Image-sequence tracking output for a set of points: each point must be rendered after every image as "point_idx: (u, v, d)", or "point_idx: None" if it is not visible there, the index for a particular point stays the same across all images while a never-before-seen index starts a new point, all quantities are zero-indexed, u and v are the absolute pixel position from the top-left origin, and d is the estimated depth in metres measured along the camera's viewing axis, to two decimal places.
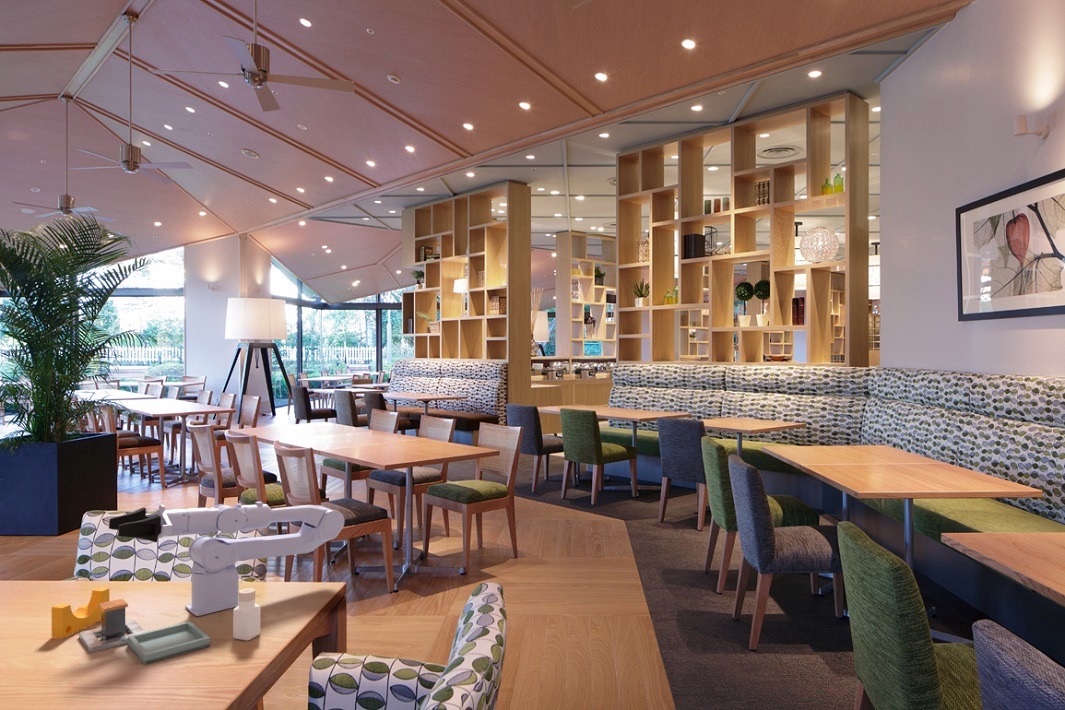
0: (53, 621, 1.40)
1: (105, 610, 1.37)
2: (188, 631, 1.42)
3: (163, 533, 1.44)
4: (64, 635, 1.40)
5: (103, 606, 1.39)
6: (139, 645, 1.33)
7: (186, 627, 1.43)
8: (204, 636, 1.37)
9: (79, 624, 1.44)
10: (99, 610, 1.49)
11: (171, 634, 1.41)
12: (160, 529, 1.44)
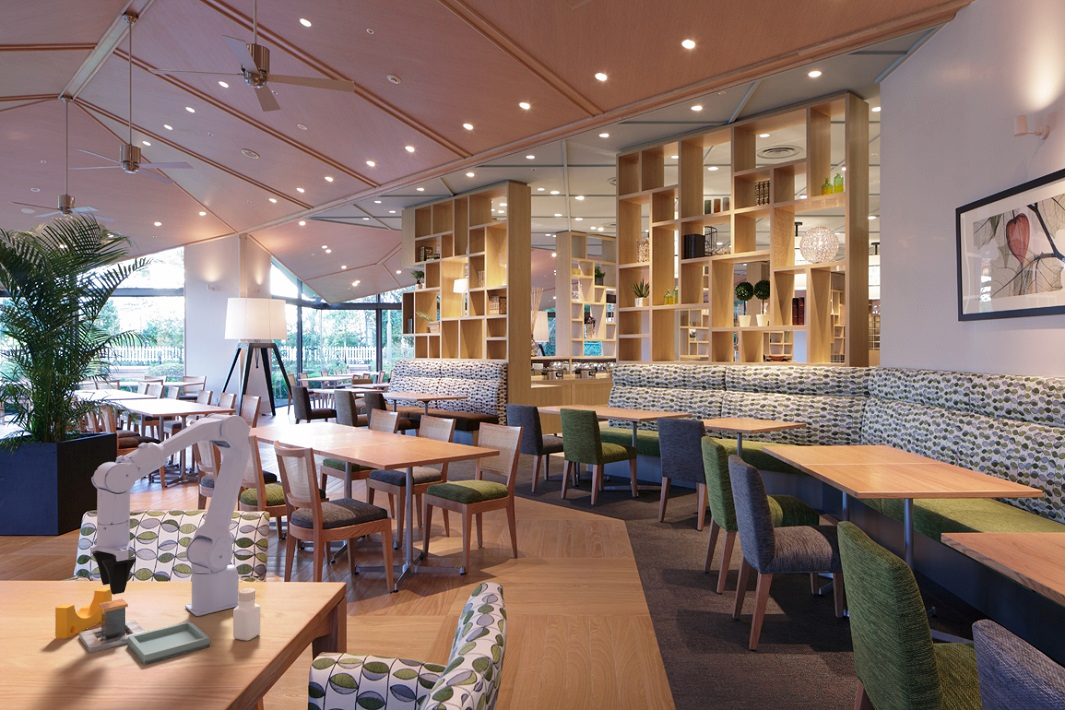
0: (57, 621, 1.40)
1: (105, 610, 1.37)
2: (188, 631, 1.42)
3: (126, 558, 1.35)
4: (68, 635, 1.40)
5: (103, 606, 1.39)
6: (139, 645, 1.33)
7: (186, 627, 1.43)
8: (204, 636, 1.37)
9: (82, 624, 1.44)
10: None
11: (171, 634, 1.41)
12: None
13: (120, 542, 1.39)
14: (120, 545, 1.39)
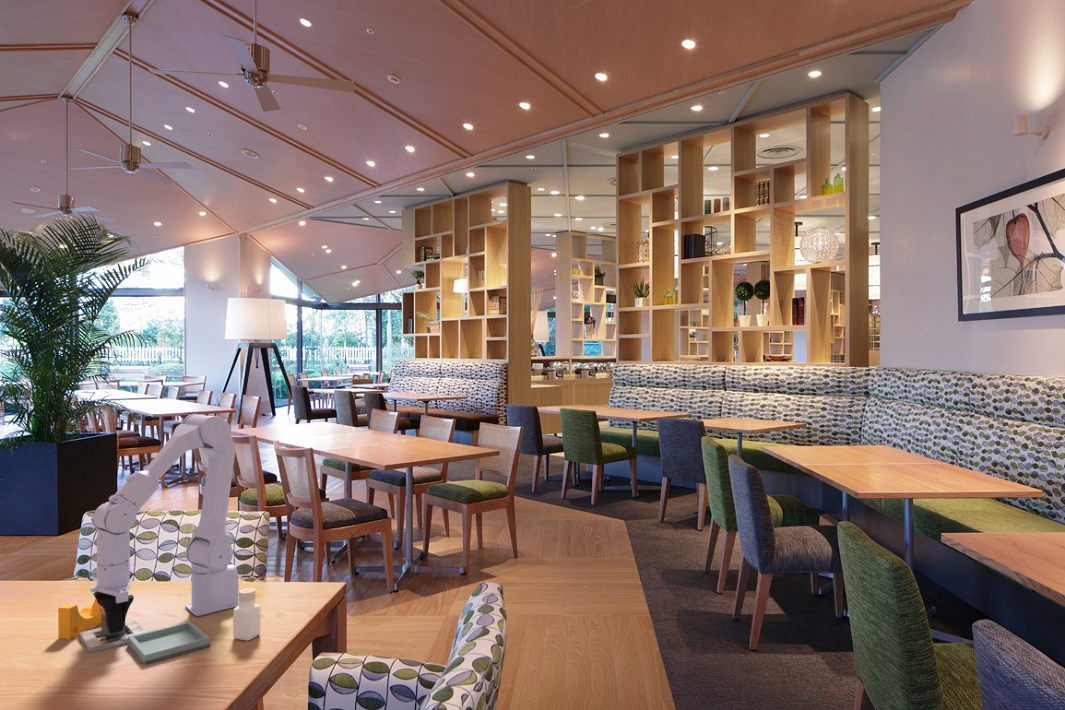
0: (60, 622, 1.40)
1: None
2: (188, 631, 1.42)
3: (126, 600, 1.35)
4: (71, 635, 1.40)
5: None
6: (139, 645, 1.33)
7: (186, 627, 1.43)
8: (204, 636, 1.37)
9: (85, 624, 1.44)
10: None
11: (171, 634, 1.41)
12: (121, 601, 1.36)
13: (120, 582, 1.39)
14: (120, 586, 1.39)
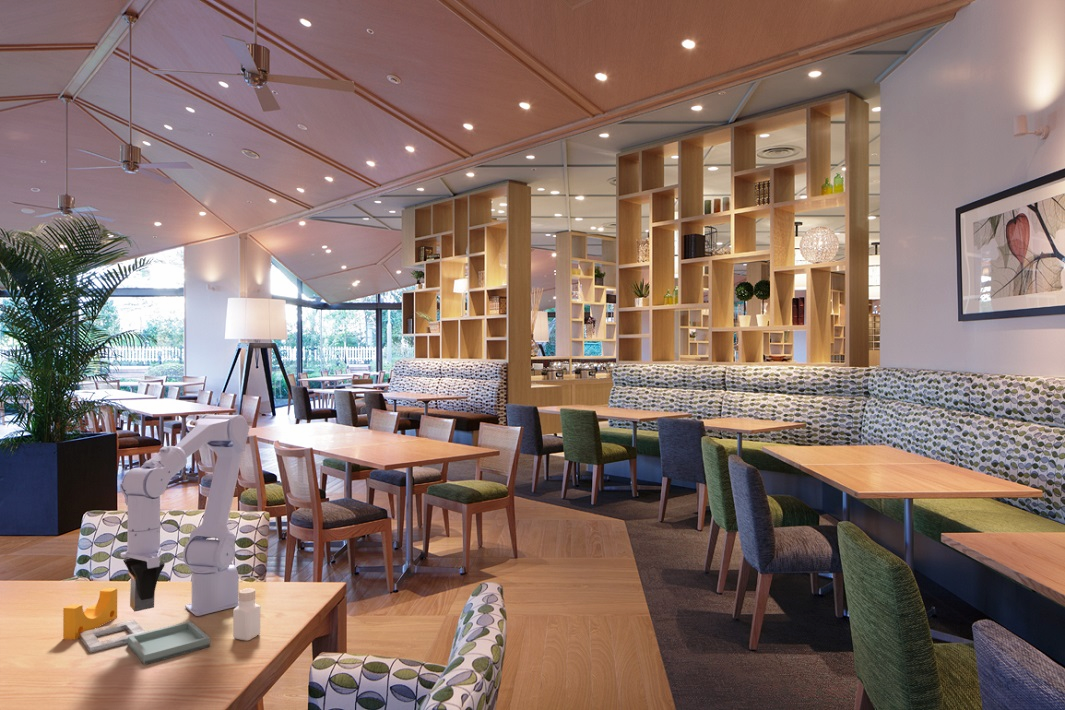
0: (65, 622, 1.40)
1: (135, 578, 1.35)
2: (188, 631, 1.42)
3: (157, 565, 1.33)
4: (76, 636, 1.40)
5: (133, 574, 1.37)
6: (139, 645, 1.33)
7: (186, 627, 1.43)
8: (204, 636, 1.37)
9: (90, 625, 1.43)
10: (108, 610, 1.49)
11: (171, 634, 1.41)
12: None
13: (151, 548, 1.37)
14: (151, 552, 1.36)
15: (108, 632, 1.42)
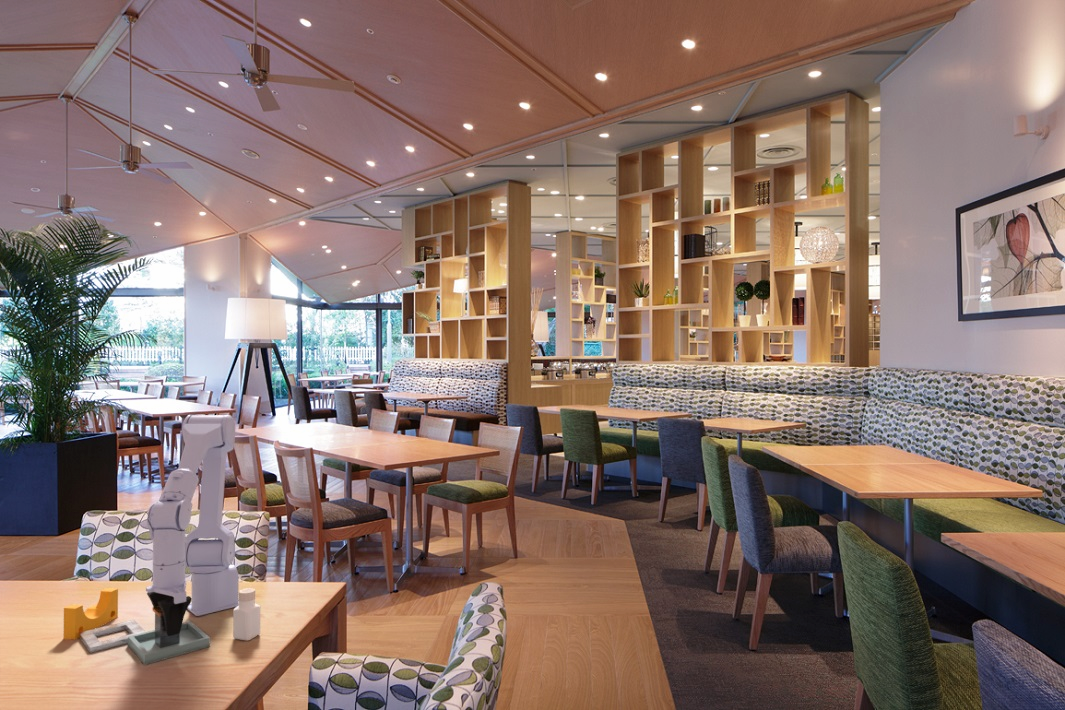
0: (65, 622, 1.40)
1: (160, 614, 1.34)
2: (188, 631, 1.42)
3: (184, 600, 1.32)
4: (77, 636, 1.40)
5: (157, 610, 1.35)
6: (139, 645, 1.33)
7: (186, 627, 1.43)
8: (204, 636, 1.37)
9: (90, 625, 1.43)
10: (108, 611, 1.49)
11: None
12: None
13: (177, 583, 1.35)
14: (176, 586, 1.35)
15: (108, 632, 1.42)
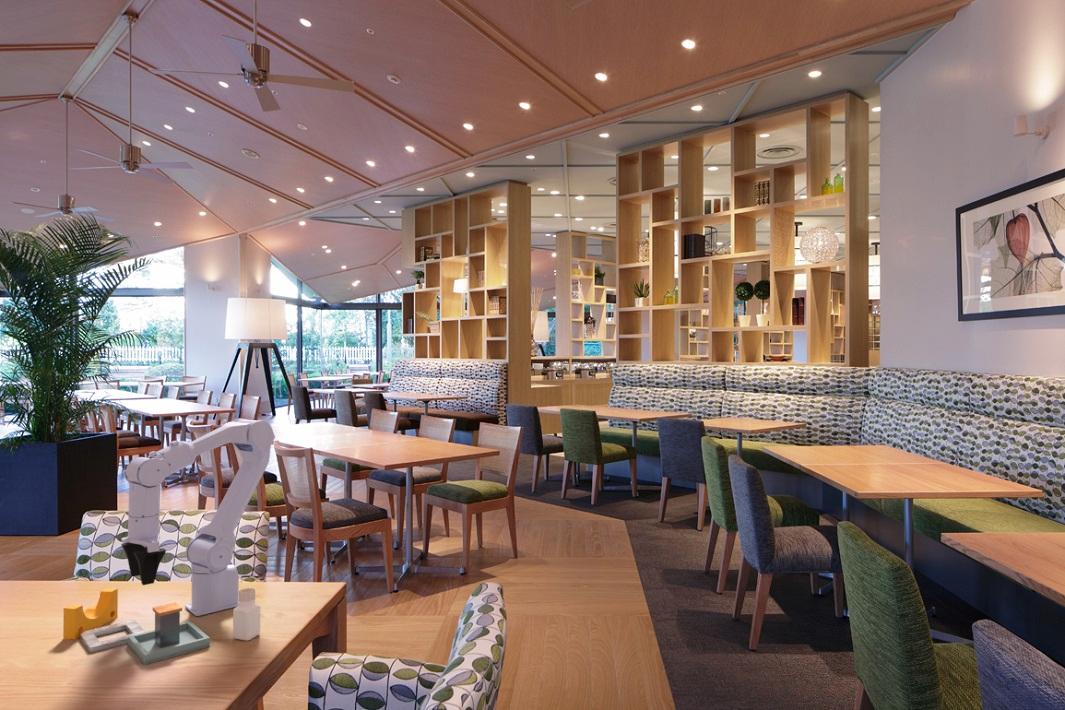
0: (65, 622, 1.40)
1: (160, 614, 1.34)
2: (188, 631, 1.42)
3: (157, 550, 1.40)
4: (77, 636, 1.40)
5: (157, 610, 1.35)
6: (139, 645, 1.33)
7: (186, 627, 1.43)
8: (204, 636, 1.37)
9: (90, 625, 1.43)
10: (108, 611, 1.49)
11: None
12: None
13: (151, 534, 1.44)
14: (150, 537, 1.43)
15: (108, 632, 1.42)
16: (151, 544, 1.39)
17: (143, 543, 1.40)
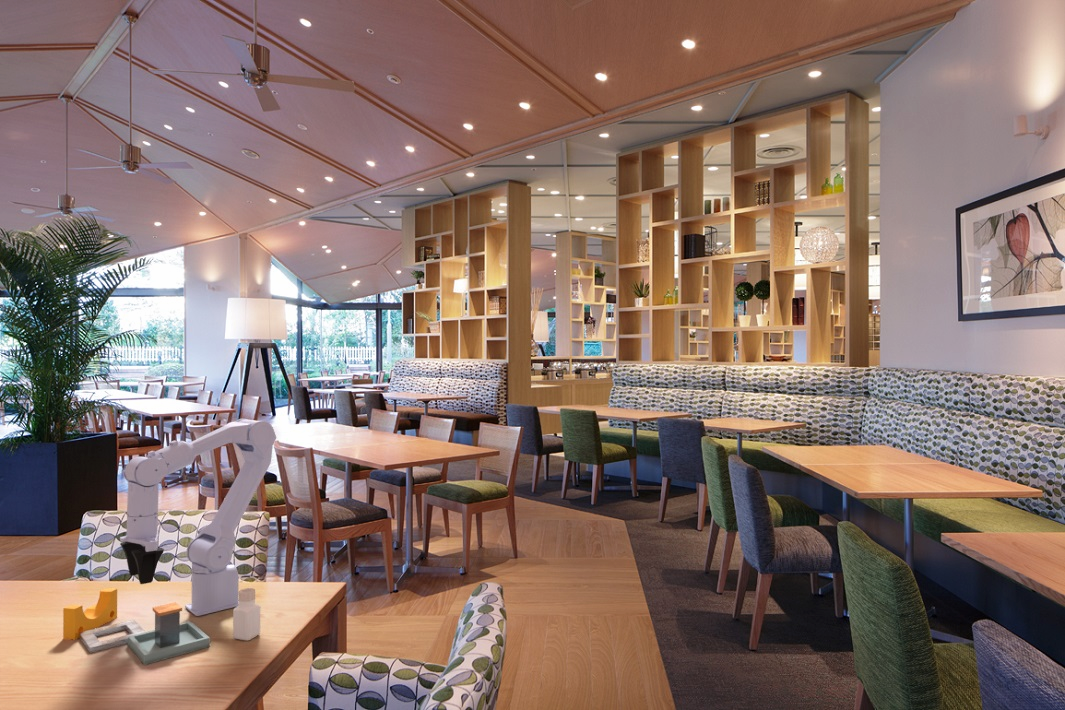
0: (65, 622, 1.40)
1: (160, 614, 1.34)
2: (188, 631, 1.42)
3: (155, 549, 1.41)
4: (76, 636, 1.40)
5: (157, 610, 1.35)
6: (139, 645, 1.33)
7: (186, 627, 1.43)
8: (204, 636, 1.37)
9: (90, 625, 1.43)
10: (108, 611, 1.49)
11: None
12: (150, 550, 1.41)
13: (149, 533, 1.44)
14: (149, 537, 1.44)
15: (108, 632, 1.42)
16: (149, 543, 1.40)
17: (141, 542, 1.41)
